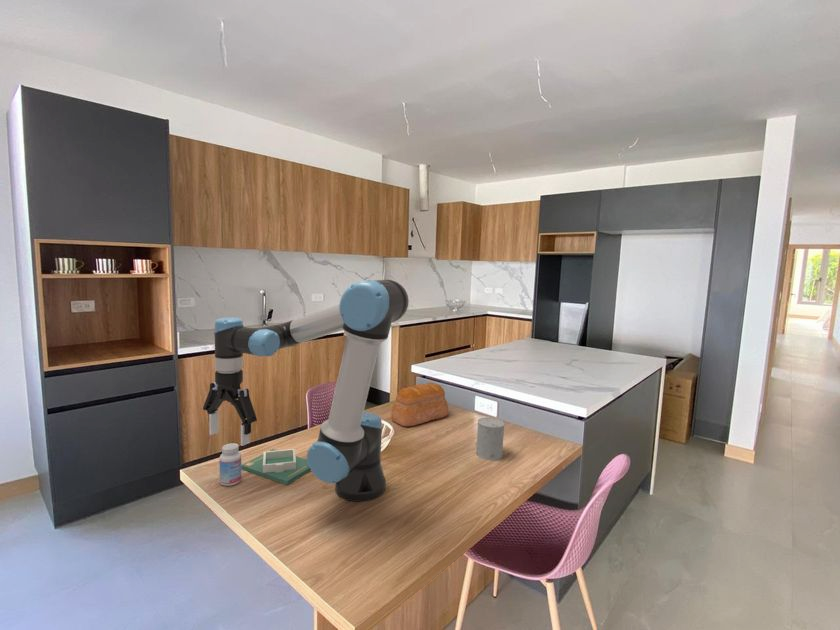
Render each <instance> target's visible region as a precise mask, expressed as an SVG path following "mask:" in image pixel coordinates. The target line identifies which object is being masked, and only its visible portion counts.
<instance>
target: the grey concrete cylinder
mask: <svg viewBox="0 0 840 630" xmlns="http://www.w3.org/2000/svg"><path fill="white" fill-rule="evenodd" d="M504 433H505V422H504V421H503V420H501V419H500V418H499V419H498V418H496V417H481V418H479V419H478V420H477V433H476V435H477V436H476V450H475V451H476V452H475V454H477V455H476V456H477V457H478V456H479V457H478V458H480V459H482V458H483V459H482V460H485V459H486V461H491V460H494V461H499V460H501V459H502V458H503V449H504Z"/></svg>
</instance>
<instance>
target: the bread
mask: <svg viewBox="0 0 840 630" xmlns="http://www.w3.org/2000/svg"><path fill="white" fill-rule="evenodd" d="M445 392H446V391H445V389H444V388H443V387H442V386H441V385H439V384H437V383H434V382H428V383H420V384H415V385H411V386H409V387H404V388H401V389H400V390H399V391H398V392H397V394H396V395H395V401H394V402H395V403H393V404H392V405H393V406H392V408H391V412H390V414H391V420H393V421H392V422H394V423H396V424H398V425H399V426H402V427H414V426H417V425H421V424H425V422H426V423H428V422H430V421H436V420H439V419H441V418H444V417H447V416H448V415H449V404H448V401H447V399H446V398H445V397H446V396H445V395H446V393H445ZM435 419H436V420H435Z"/></svg>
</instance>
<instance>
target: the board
mask: <svg viewBox="0 0 840 630" xmlns="http://www.w3.org/2000/svg"><path fill="white" fill-rule="evenodd" d="M241 470H243V471H246V472H249V473H252V474H255V475H258V476H261V477H263V478H266V479H269V480H272V481H275V482H277V483H281V484H282V485H286V486H288V485H289V484H292V482H294V481H296V480H298V479H300V478H301V477H303V476H304V475H306V474H308V473H309V472H310V471H311V472H312V470H311V469H310V468H309V466H308V463H307V458H303V457H299V456H297V455H296V448H288V449H280V450H279V449H278V450H277V449H274V448H273V449H270V450H269V451H263V453H262V454H260V455H258V456H256V457H254V458H252V459H250V460H248V461H246V462H244V463H241Z"/></svg>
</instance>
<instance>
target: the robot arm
mask: <svg viewBox="0 0 840 630" xmlns="http://www.w3.org/2000/svg"><path fill="white" fill-rule="evenodd" d="M409 301H410V300H409V295H408V292H407V291H406V289H405V287H404V286H403V285H401V283H399V282H397V281H396V280H392V279H377V280H375V279H374V280H373V279H372V280H371V279H365V280H362V281H357V282H355V283H353V284H351V285H350V286H348V287H347V288H345V290H344V292H343V294H342V295H341V297H340V300H339V304H337V305H334V306H330V307H328V308H325V309H322V310H319V311H316V312H313V313H309V314H307V315H304V316H302V317H298V318H295V319H293V320H289V321H287V322H284V323H280V324H275V325H274V324H273V325H269V326H268V325H267V326H262V327H246V326H244V323H243V322H244V321H243V319H241V318H240V317H219V318H217V319H216V320H215V322H214V332H213V334H214V370H215V372H214V382H210V383H209V391H208V394H207V396H206V397H205V398H206V399H205V402H204V405H203V407H202V410H203V411H206V413H207V414H208V424H209V426H208V428H209V436H213V435H216V434H218V433H219V432H220V426H219V425H220V424H219V423H220V421H219V419H220V418H219V417H220V416H219V415H220V414H219V408H220V407H221V405H222V404H223V402H227V403H230V404H231V405H232V406H233V407H234V409H235V411H236V412H237V414H238V416H239V418H240V421H241V422H242V423H240V446H241V447H242V446H246V445H247V444H250V443H251V433H252V423H255V422H257V420H258V418H257V415H256V412H255V409H254V406H253V403H252V400H251V397H250V390H249V389H248V388H245V389H243V388H242V387H241V384H242V383H243V381H244V374H243V373H244V371H243V370H242V369H244V368H243V367H244V366H243V362H244V361H243V356H244V355H243V354H246V355H252V356H256V357H272V356H274V355H275V353H277V351H280V350H281V349H282V350H283V349H285V348H290V347H294V346H295V347H296V346H297V345H299V344H302V343H305V342H308V341H311V340H315V339H318V338H321V337H325V336H327V335H331V334H334V333H338V332H341V331H343V332H344V333H345V334H346V341H345V344H344V348H343V353H342V358H341V362H340V367H339V371H338V376H337V379H336V384H335V388H334V394H333V396H332V401H331V402H332V403H331V407H330V410H329V416H328V419H326V420H324V421H323V422H322V423H321V426H320V429H319V433H318V438H317V440H316V441H315V442H314V443H312V444H311V446H310V447H309V448H308V450H307V453H306V459H307V463H308V466H309V468H310V469H311V473H312V475H314V477H316V478H317V479H318V480H319V481H321V482H323V483H327V484H335V485H334V486H335V487H334V491H335V493H336V494H337V496H339V497H341V498H342V499H345V500H347V501H353V502H364V501H365V502H366V501H370V500H374V499H376V498H378V497H380V496H381V495H383V494H384V492H385V491H386V485H387V484H386V482H387V481H386V480H387V479H386V477H385V474H384V470H383V467H382V464H381V463H382V462H381V455H382V433H383V432H382V429H383V427H382V418H381V417H380V415H378V414H375V413H372V412H367V411H365V407H366V403H367V399H368V396H369V393H370V392H369V391H370V387H371V383H372V379H373V376H374V375H373V374H374V370H375V366H376V363H377V358H378V354H379V351H380V345H381V343H383V342H384V341H385V342H386V340H388V339H389V334H390V331H391V330H390V329H391V326H392V323H395V322H397V321H399V320H400V319H401V318H402V317H404V315H405V314H406V312H407V311H408V307H409Z"/></svg>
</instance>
